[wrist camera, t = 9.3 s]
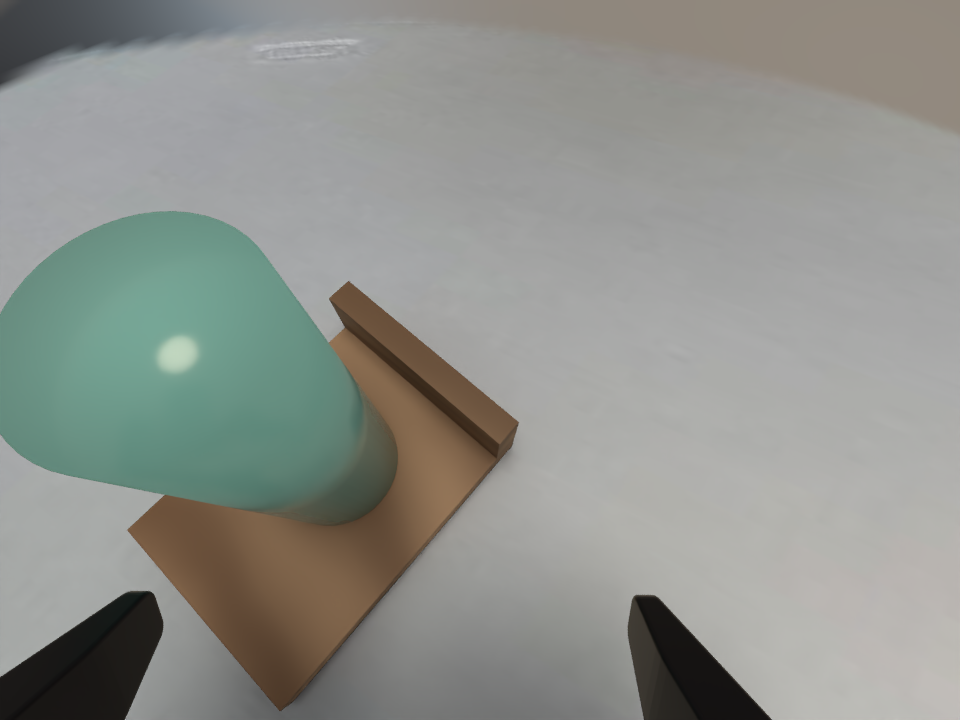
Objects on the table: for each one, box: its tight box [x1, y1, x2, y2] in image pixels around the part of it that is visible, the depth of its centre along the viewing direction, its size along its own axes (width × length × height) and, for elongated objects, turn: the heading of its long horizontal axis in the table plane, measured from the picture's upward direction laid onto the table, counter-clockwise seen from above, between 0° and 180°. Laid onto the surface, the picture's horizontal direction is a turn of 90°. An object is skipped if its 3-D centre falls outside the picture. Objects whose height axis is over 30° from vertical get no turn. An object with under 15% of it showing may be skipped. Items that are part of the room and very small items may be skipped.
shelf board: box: [128, 281, 519, 711], centre depth 22 cm, size 14×10×4 cm
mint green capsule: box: [0, 211, 398, 526], centre depth 16 cm, size 6×6×14 cm
